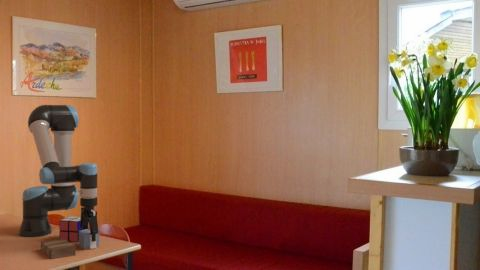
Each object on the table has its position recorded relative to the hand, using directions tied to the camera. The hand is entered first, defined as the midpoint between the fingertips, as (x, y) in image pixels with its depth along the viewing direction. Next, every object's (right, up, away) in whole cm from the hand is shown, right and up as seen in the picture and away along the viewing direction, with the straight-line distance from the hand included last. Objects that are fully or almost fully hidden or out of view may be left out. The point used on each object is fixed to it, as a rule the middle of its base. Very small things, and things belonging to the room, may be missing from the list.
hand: (88, 245), depth 237 cm
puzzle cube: (-11, 0, +13) cm, 17 cm away
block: (0, 0, 0) cm, 0 cm away
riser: (-10, -1, -11) cm, 15 cm away
